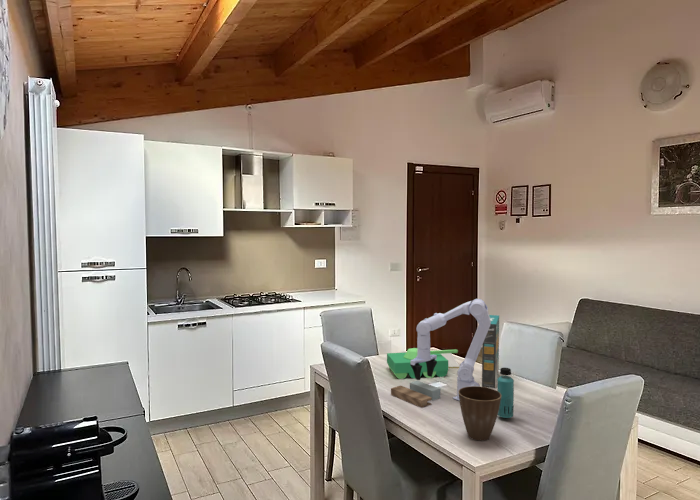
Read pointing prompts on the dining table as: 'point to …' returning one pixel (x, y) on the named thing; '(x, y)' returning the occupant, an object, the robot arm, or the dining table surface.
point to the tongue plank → (425, 389)
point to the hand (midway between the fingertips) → (423, 377)
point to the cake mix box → (491, 354)
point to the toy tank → (402, 363)
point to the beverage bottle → (506, 393)
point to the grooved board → (411, 396)
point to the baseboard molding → (450, 360)
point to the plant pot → (479, 410)
